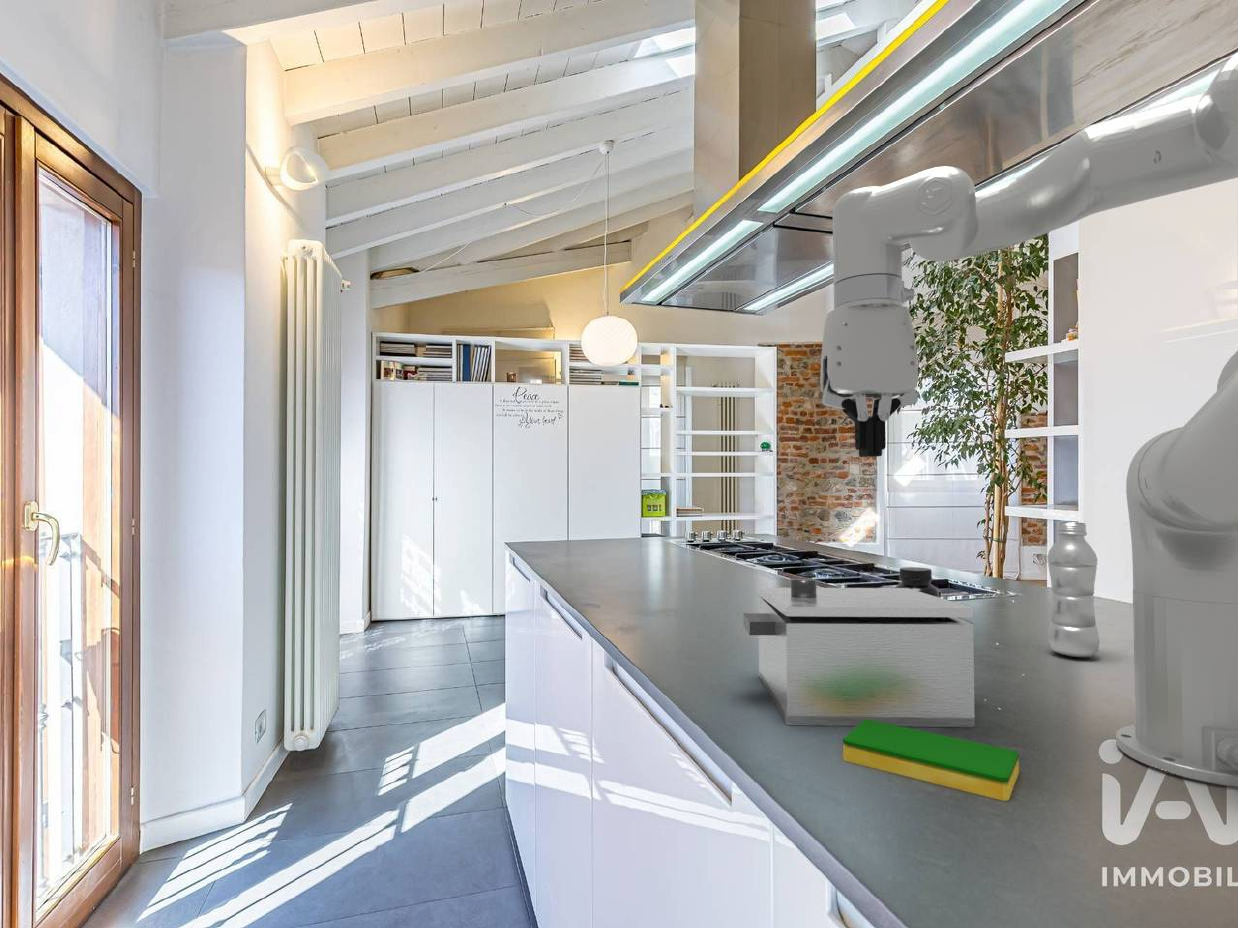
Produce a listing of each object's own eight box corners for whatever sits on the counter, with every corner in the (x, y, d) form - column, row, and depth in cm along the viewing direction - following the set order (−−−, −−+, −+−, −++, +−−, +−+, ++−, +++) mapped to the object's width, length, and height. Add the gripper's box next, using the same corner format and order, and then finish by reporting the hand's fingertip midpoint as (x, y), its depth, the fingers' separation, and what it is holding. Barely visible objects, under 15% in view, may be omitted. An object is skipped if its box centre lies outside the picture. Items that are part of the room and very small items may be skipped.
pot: (1003, 727, 72) (1001, 624, 73) (759, 724, 73) (758, 623, 74) (931, 677, 90) (930, 595, 91) (736, 676, 91) (736, 594, 92)
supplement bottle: (921, 636, 114) (920, 565, 115) (950, 645, 108) (949, 570, 108) (885, 638, 113) (884, 566, 113) (912, 648, 106) (911, 572, 106)
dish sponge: (865, 741, 70) (865, 717, 70) (1019, 776, 62) (1019, 750, 62) (841, 764, 64) (841, 738, 64) (1008, 807, 56) (1007, 777, 56)
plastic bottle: (1050, 658, 100) (1048, 523, 100) (1046, 648, 106) (1044, 521, 106) (1103, 664, 97) (1101, 524, 97) (1096, 653, 103) (1093, 522, 103)
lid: (973, 617, 73) (972, 589, 73) (786, 616, 74) (785, 588, 74) (908, 595, 91) (907, 573, 91) (758, 594, 92) (758, 572, 92)
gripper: (918, 307, 82) (921, 457, 82) (795, 308, 83) (797, 458, 82) (947, 289, 75) (950, 454, 74) (811, 291, 75) (814, 456, 75)
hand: (870, 456), depth 78 cm, fingers closed
